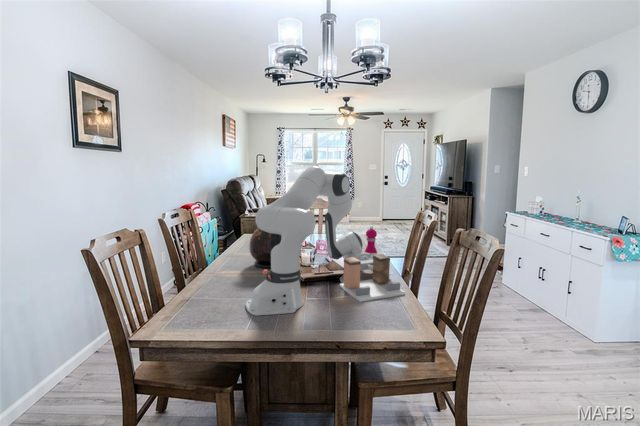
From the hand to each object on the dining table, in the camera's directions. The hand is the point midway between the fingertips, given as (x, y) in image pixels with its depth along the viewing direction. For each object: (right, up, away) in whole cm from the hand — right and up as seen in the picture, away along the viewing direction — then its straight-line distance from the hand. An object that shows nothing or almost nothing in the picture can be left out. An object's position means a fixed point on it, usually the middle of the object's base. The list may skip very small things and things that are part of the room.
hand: (376, 268), depth 167 cm
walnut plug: (+2, -5, -3) cm, 6 cm away
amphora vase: (-54, -2, +26) cm, 60 cm away
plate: (-4, -8, -10) cm, 13 cm away
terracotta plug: (-12, -6, -9) cm, 16 cm away
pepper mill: (+2, -1, +35) cm, 35 cm away
